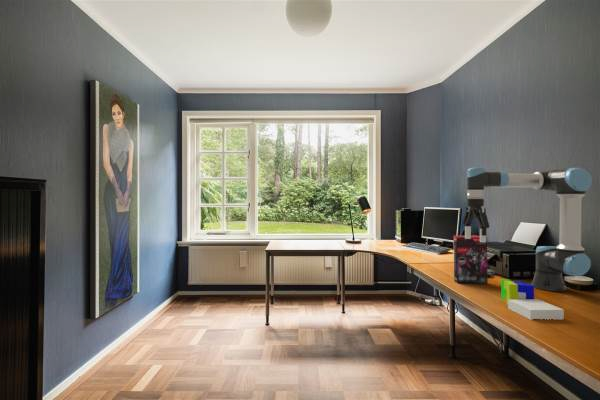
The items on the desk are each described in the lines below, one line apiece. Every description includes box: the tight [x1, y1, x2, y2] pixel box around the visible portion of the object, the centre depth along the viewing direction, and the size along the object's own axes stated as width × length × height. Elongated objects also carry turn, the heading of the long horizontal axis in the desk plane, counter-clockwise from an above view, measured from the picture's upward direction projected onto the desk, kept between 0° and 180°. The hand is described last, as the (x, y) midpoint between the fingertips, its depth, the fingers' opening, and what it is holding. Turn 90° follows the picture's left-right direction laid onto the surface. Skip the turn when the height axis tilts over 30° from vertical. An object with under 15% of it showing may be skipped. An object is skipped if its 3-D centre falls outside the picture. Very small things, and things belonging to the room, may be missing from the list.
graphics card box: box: [453, 235, 489, 285], centre depth 198 cm, size 17×7×27 cm, turn 83°
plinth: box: [507, 298, 565, 321], centre depth 145 cm, size 14×14×4 cm
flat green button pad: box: [487, 268, 495, 277], centre depth 221 cm, size 18×18×5 cm
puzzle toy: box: [500, 279, 535, 306], centre depth 160 cm, size 10×10×10 cm
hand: (475, 240), depth 171 cm, fingers open, 13 cm apart
